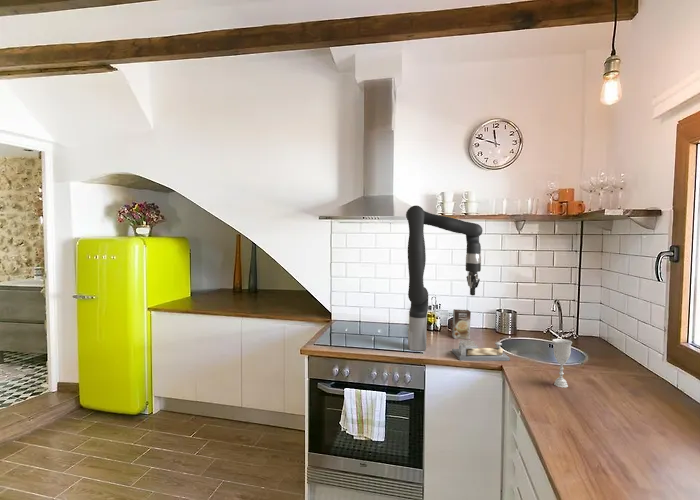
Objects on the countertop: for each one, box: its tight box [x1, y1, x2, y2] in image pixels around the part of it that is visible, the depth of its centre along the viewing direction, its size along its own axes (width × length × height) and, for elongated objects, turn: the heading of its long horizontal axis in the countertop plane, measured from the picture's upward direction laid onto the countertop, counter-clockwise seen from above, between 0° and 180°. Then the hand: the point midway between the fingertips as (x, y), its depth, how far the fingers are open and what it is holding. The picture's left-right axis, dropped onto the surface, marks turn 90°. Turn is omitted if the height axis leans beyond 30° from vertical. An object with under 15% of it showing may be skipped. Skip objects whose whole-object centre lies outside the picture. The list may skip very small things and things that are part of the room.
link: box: [466, 347, 504, 355], centre depth 190 cm, size 18×4×2 cm, turn 94°
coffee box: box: [451, 309, 471, 340], centre depth 227 cm, size 9×6×16 cm
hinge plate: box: [451, 341, 511, 362], centre depth 194 cm, size 24×14×7 cm, turn 91°
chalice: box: [552, 338, 573, 388], centre depth 157 cm, size 7×7×18 cm
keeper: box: [458, 339, 479, 356], centre depth 191 cm, size 7×9×7 cm
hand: (472, 295), depth 203 cm, fingers closed
